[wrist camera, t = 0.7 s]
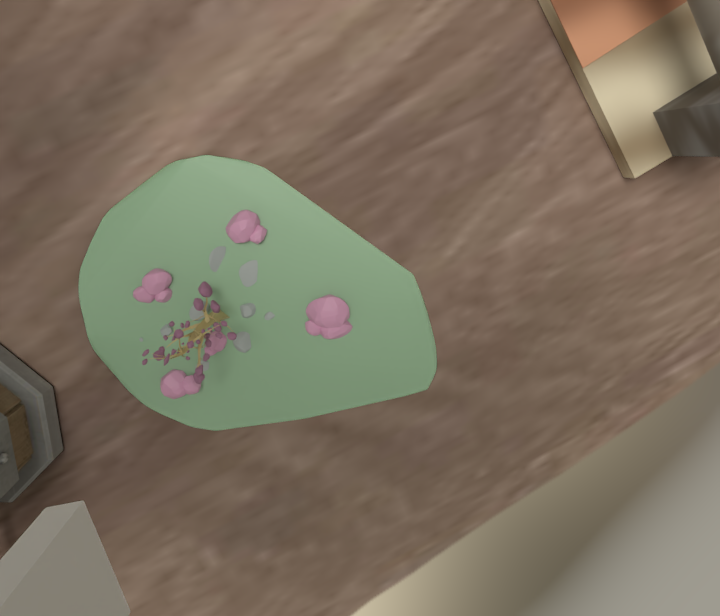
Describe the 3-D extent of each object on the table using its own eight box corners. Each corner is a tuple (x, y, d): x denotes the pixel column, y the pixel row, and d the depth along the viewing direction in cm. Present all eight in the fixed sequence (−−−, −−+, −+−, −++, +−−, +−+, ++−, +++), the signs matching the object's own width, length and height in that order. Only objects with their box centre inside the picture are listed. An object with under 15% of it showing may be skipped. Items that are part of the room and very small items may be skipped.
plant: (462, 178, 35) (495, 186, 26) (423, 451, 41) (441, 531, 32) (82, 143, 34) (-12, 139, 26) (98, 425, 40) (25, 500, 31)
